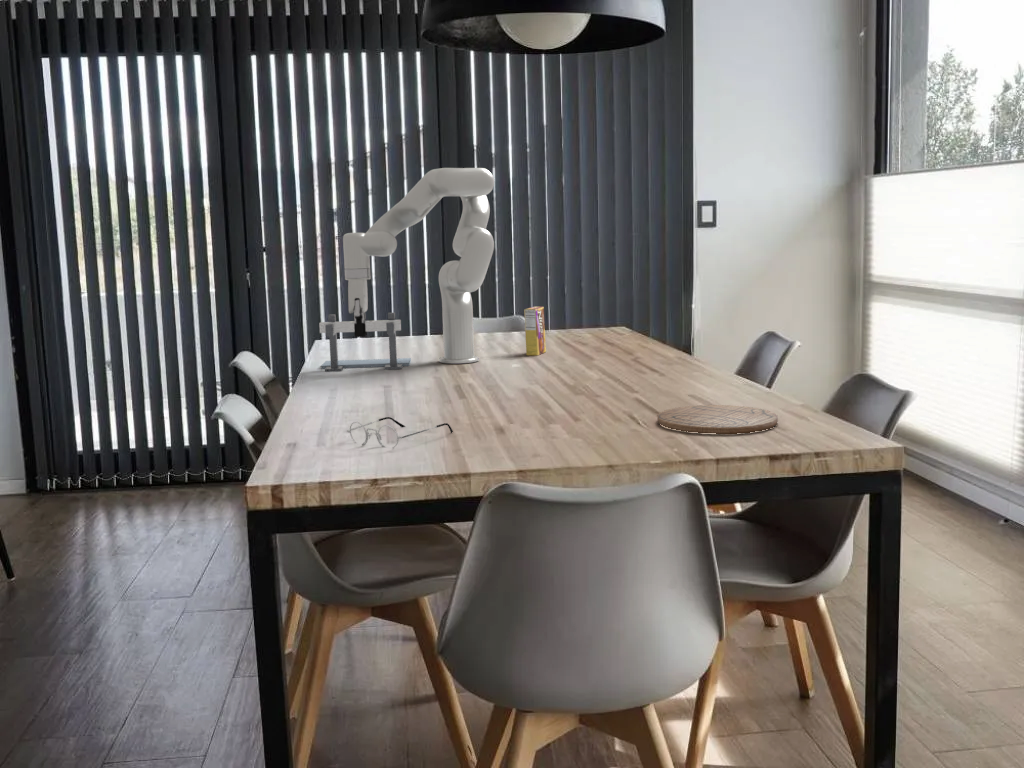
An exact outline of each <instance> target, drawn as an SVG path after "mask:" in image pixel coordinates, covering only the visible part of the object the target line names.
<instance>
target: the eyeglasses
mask: <svg viewBox="0 0 1024 768" xmlns="http://www.w3.org/2000/svg"><path fill="white" fill-rule="evenodd" d="M388 419H389V420H391V421H393V422H394V423H395V424H397V426H399V427H400V428H406V426H405V425H404V424H403V423H400V421H397V420H396V419H394V418H392V417H389V416H387V417H382V418H379V419H377V420H375V421H370V422H368V423H364V424H362V423H361V422H360V421H359V422H358V421H354V422H352V423H351V424H350V426H349V429H346V433H349V435H350V438H351V439H352V441H353V443H355V444H358V442H357V441H356V440H355V439H354V436H353V434H352V431H354V430H358V429H360V428H363V430H364V433H365V441H364V442H363V443H362V445H366V444H367V443H368V440H370V438H371V437H372V433H370V432H369V431H375V433H374V435H375V437H376V440H377V442H378V444H379V445H380V446H381V447H382V448H387V446H386V445H385V444H384V443H383V442H382V435H381V433H380V431H381V429H382V428H384V427H389V428H390V429H392V430H393V431H394V433H395V435H396V440H397V441H396V444H395V445H394V446H392V449H394V448H395V447H397V445H398V443H399V440H401V439H405V438H407V437H408V438H409V437H410V436H413V435H418V434H420V433H424V432H427V431H430V430H432V429H435V428H436V429H437V428H440V427H443V426H447V427H448V429H449V432H450V434H453V433H454V430H453V428H452V427H451V425H450V424H449V423H447V422H446V423H441V424H438V425H435V426H434V427H431V428H425V429H422V430H419V431H416V432H412V433H410V434H409V433H408V434H405V435H402V436H401V435H398V433H397V431H396V429H395V428H394V427H393V426H391V425H386V424H385V425H381V426H380V428H378V430H377V429H374V428H367V429H366V428H365V427H366V426H368V425H372V424H373V423H376V422H381V421H384V420H388ZM355 423H356V424H359V426H356V427H353V428H352V426H353V424H355ZM452 432H453V433H452Z"/></svg>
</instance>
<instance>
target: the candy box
mask: <svg viewBox="0 0 1024 768" xmlns="http://www.w3.org/2000/svg"><path fill="white" fill-rule="evenodd" d="M523 311H524V313H523V314H524V331H525V333H524V334H525V354H526V356H527V357H529V356H530V357H532V356H533V357H534V356H540V355H542V354H545V353H546V352H547V348H546V347H547V344H546V343H547V342H546V330H545V329H546V327H545V326H546V325H545V307H544V306H532V307H528V308H525V309H524V310H523Z"/></svg>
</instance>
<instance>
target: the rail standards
mask: <svg viewBox="0 0 1024 768" xmlns="http://www.w3.org/2000/svg"><path fill="white" fill-rule="evenodd" d="M327 318H328V319H327V322H337V319H336V318H337V317H336V313H335V314H328V315H327ZM387 320H396V312H388V313H387ZM386 327H387V331H386V334H387V335H388V347H389V359H390V364H386V365H385V367H384V370H385V371H387V370H392V371H393V370H402V368H403V366H402V364H397V358H398V355H397V353H398V352H397V351H398V350H397V333H396V332H397V331H394V328H393V323H386ZM325 328H326V333H325V335H326V337H328V339H329V355H330V356H329V357H330V361H331V366H327V367H326V368H325V369H324V372H326V373H327V372H329V373H330V372H333V373H334V372H342V371H343V370H345V368H344V366H338V360H339V355H338V352H339V351H338V350H339V349H338V333H333V325H325Z"/></svg>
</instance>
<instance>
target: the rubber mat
mask: <svg viewBox="0 0 1024 768" xmlns="http://www.w3.org/2000/svg"><path fill="white" fill-rule="evenodd" d="M411 362H412V358H411V357H401V358H398V357H397V364H402V367H409V366H410V365H411ZM386 364H390V358H372V359H370V358H369V359H345V360H344V359H341V360H340V359H338V366H344V369H357V368H358V369H359V368H385V365H386ZM327 366H331V360H325V361H324V362H323V363H322V364H321V366H320V368H321V370H325V368H326V367H327Z"/></svg>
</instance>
